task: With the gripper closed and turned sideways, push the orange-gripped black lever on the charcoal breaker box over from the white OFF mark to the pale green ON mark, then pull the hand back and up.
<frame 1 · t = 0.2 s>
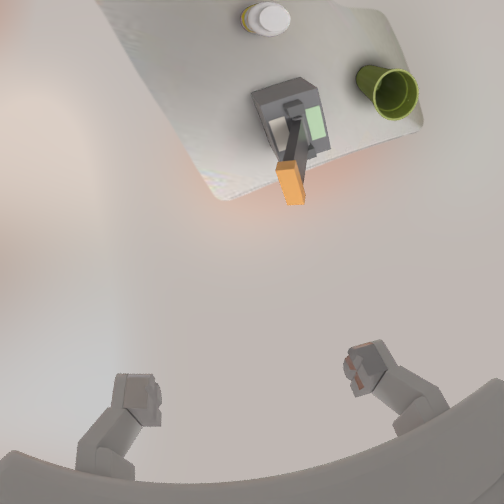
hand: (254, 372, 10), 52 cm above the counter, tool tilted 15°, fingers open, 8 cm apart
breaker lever: (297, 154, 42), point 17 cm above the counter, hinge at -25.0°
breaker box: (285, 112, 52), on the counter
plant pot: (368, 79, 48), on the counter
supplement bottle: (257, 19, 36), on the counter
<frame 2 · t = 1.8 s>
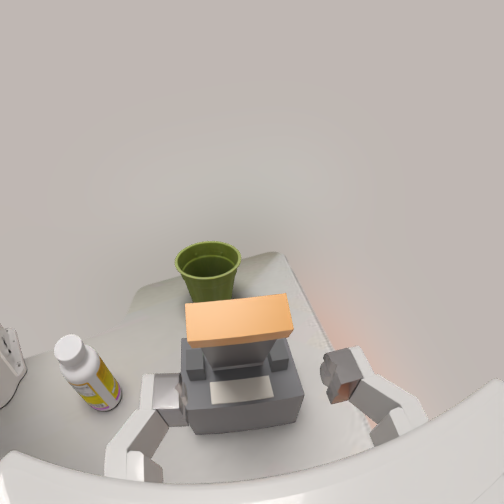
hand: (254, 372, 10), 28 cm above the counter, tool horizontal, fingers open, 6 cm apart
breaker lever: (237, 346, 24), point 17 cm above the counter, hinge at -25.0°
breaker box: (240, 398, 36), on the counter
plant pot: (213, 305, 54), on the counter
supplement bottle: (105, 396, 34), on the counter
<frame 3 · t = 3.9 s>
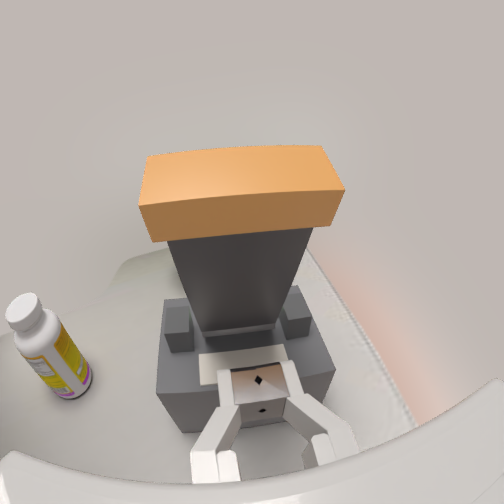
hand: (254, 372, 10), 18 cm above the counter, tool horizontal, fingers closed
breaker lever: (238, 281, 16), point 17 cm above the counter, hinge at -25.0°
breaker box: (242, 384, 28), on the counter
supplement bottle: (73, 380, 26), on the counter
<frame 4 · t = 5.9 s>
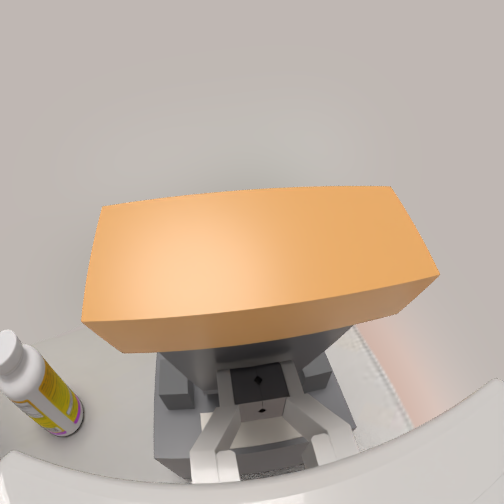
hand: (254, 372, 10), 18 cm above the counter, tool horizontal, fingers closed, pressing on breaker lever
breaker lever: (249, 352, 12), point 17 cm above the counter, hinge at -23.0°, touching gripper
breaker box: (247, 426, 23), on the counter
supplement bottle: (64, 415, 22), on the counter
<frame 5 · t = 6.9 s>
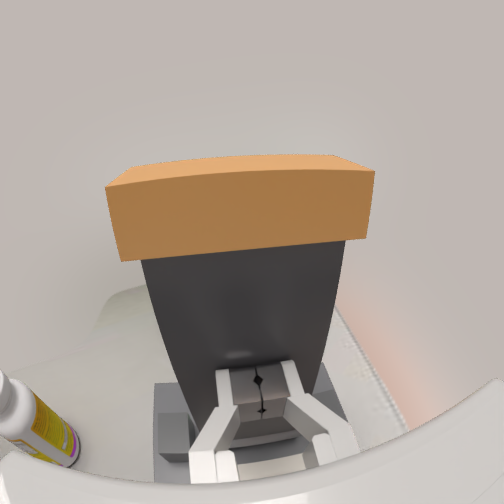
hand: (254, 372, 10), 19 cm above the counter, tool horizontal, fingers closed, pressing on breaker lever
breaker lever: (248, 366, 11), point 18 cm above the counter, hinge at 3.6°, touching gripper
breaker box: (252, 463, 20), on the counter
supplement bottle: (59, 446, 18), on the counter
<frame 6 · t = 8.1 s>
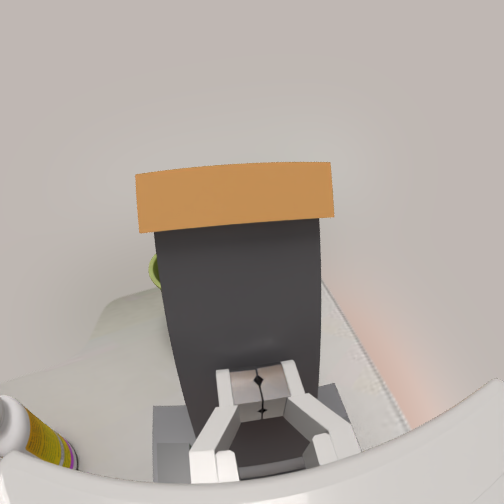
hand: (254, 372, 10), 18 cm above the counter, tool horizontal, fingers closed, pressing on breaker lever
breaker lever: (249, 369, 11), point 17 cm above the counter, hinge at 23.2°, touching gripper
breaker box: (257, 483, 18), on the counter
supplement bottle: (57, 461, 16), on the counter
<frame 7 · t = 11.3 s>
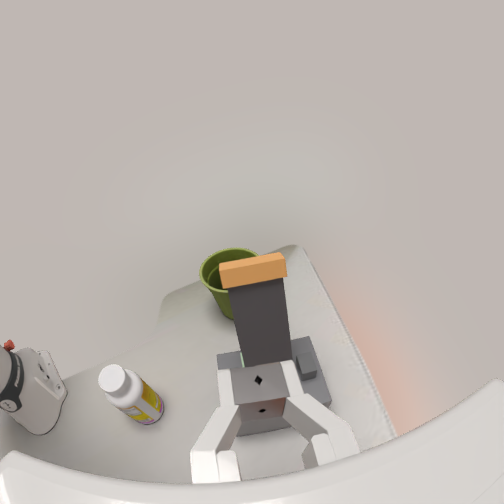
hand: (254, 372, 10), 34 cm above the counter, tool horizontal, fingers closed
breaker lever: (262, 328, 31), point 17 cm above the counter, hinge at 23.3°
breaker box: (273, 399, 40), on the counter
plant pot: (239, 307, 56), on the counter
supplement bottle: (148, 408, 39), on the counter
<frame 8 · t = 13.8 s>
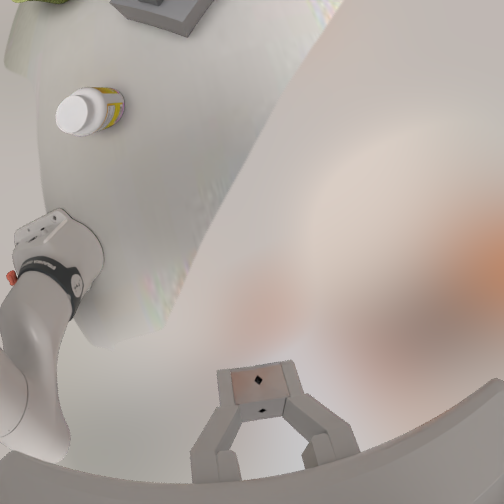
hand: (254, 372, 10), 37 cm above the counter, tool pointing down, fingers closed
supplement bottle: (107, 107, 33), on the counter
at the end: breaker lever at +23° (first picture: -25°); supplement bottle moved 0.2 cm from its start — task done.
